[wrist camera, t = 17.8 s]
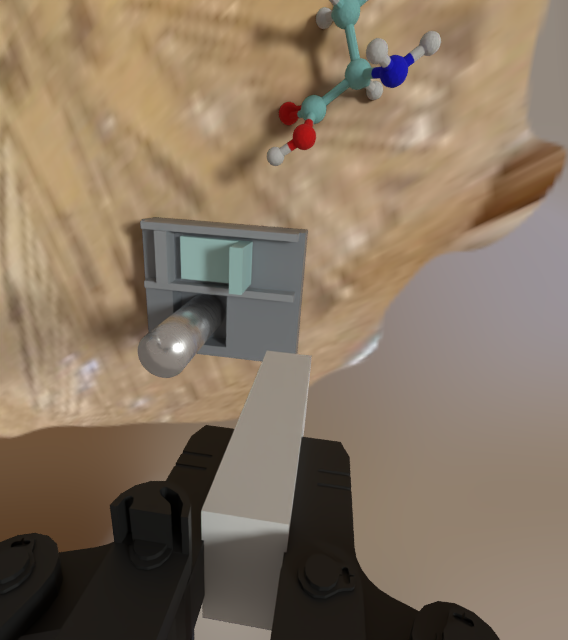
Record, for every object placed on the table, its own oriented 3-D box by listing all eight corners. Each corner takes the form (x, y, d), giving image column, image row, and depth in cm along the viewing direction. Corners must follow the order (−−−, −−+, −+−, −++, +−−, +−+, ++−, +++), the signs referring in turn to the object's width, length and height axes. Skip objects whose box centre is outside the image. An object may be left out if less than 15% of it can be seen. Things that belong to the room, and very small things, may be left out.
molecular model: (252, -52, 24) (318, -75, 17) (377, -23, 27) (476, -31, 20) (242, 141, 31) (286, 184, 24) (342, 146, 34) (407, 184, 27)
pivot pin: (189, 326, 37) (139, 374, 27) (188, 291, 36) (135, 329, 26) (224, 330, 36) (186, 380, 27) (224, 295, 35) (185, 334, 26)
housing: (161, 338, 38) (141, 355, 34) (154, 217, 34) (131, 221, 30) (297, 353, 37) (292, 373, 33) (307, 229, 33) (304, 235, 29)
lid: (183, 276, 33) (166, 287, 29) (182, 235, 32) (164, 241, 28) (251, 283, 32) (241, 295, 29) (252, 241, 31) (242, 248, 28)
